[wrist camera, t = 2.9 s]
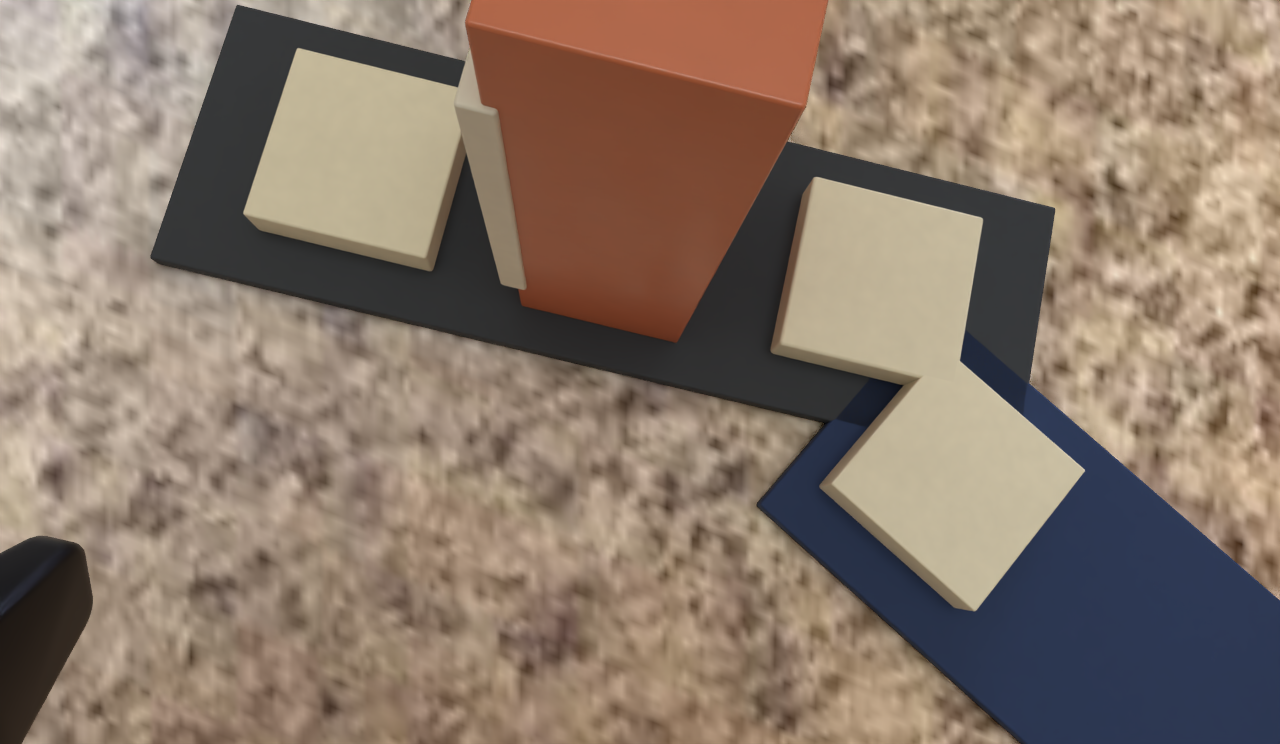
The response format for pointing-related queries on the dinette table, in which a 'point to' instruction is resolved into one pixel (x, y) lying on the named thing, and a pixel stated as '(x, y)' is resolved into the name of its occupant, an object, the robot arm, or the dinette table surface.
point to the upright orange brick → (627, 143)
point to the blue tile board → (1034, 566)
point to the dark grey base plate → (491, 312)
